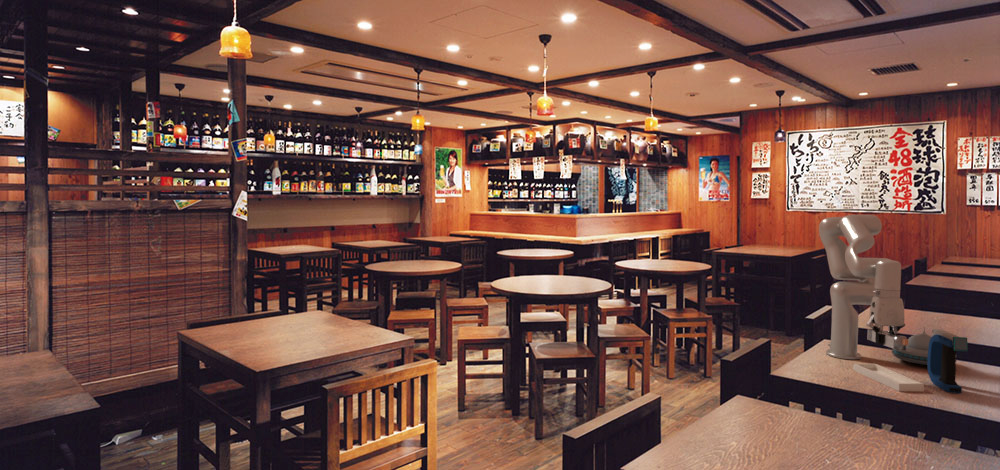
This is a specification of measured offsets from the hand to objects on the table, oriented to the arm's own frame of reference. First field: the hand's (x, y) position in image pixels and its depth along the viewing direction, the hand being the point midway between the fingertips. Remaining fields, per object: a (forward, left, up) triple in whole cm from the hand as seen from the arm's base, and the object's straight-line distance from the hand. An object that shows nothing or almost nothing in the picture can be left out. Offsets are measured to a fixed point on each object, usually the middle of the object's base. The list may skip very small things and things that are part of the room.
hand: (885, 343), depth 196 cm
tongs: (+2, 0, 0) cm, 2 cm away
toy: (-20, +30, -13) cm, 38 cm away
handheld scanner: (+9, +15, -13) cm, 22 cm away
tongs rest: (+1, 0, -13) cm, 13 cm away
